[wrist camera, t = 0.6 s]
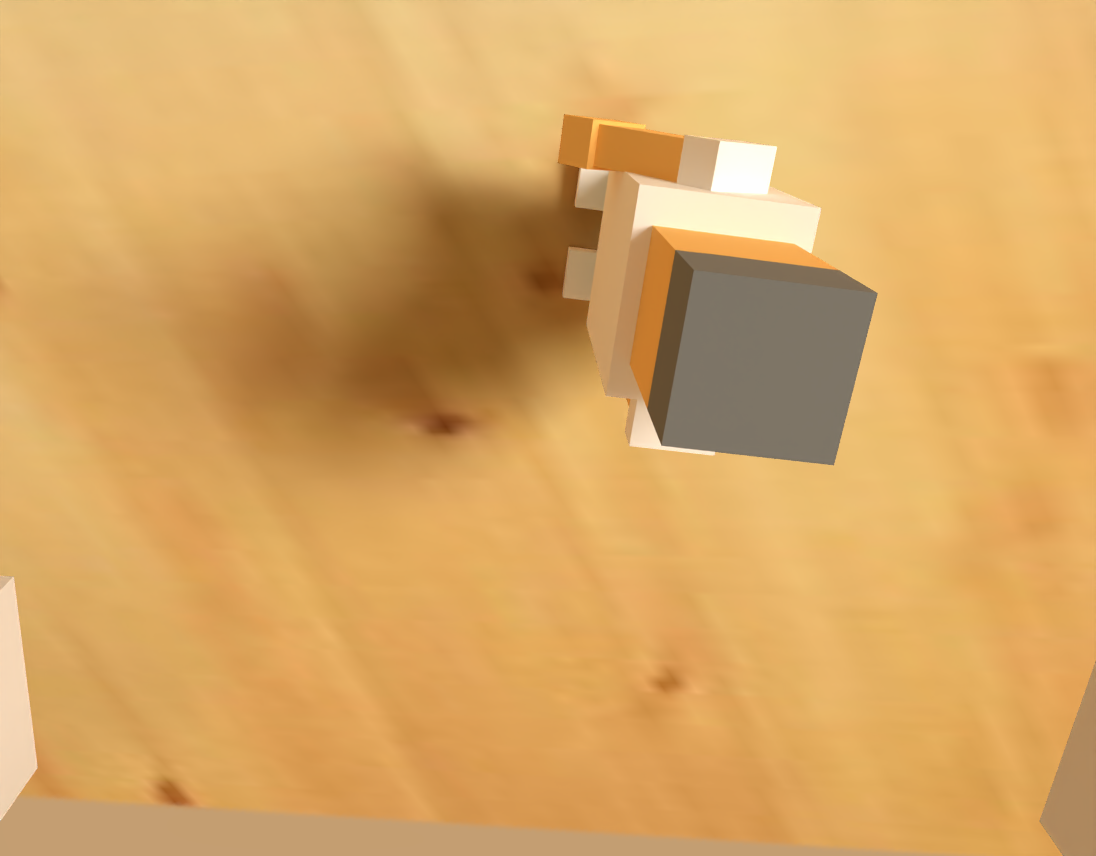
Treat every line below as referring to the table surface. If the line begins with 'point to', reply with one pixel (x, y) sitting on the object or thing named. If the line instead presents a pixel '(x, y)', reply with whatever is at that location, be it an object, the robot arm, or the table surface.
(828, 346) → the character figure
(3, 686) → the robot arm
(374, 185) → the table surface
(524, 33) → the table surface
